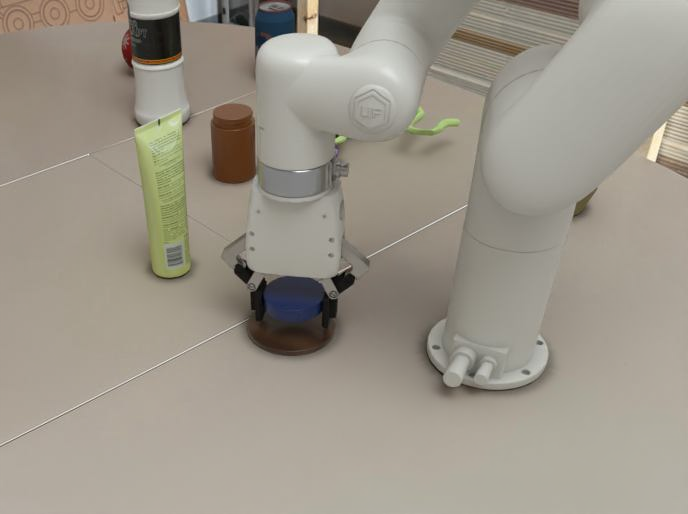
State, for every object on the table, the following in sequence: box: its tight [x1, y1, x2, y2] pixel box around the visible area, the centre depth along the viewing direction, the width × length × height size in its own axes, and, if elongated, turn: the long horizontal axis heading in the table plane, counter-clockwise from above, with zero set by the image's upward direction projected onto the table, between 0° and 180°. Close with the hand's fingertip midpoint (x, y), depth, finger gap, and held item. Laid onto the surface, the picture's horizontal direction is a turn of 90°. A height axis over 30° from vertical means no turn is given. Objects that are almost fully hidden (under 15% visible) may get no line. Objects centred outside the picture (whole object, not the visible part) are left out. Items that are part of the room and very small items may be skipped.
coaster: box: [247, 310, 336, 356], centre depth 94 cm, size 10×10×1 cm
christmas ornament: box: [121, 28, 133, 70], centre depth 150 cm, size 9×9×10 cm
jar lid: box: [263, 275, 325, 322], centre depth 92 cm, size 7×7×2 cm
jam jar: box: [209, 102, 257, 184], centre depth 120 cm, size 6×6×9 cm
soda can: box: [254, 0, 296, 72], centre depth 145 cm, size 7×7×12 cm
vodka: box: [125, 0, 191, 126], centre depth 128 cm, size 9×9×30 cm
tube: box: [133, 108, 192, 279], centre depth 98 cm, size 6×5×20 cm
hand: (293, 316), depth 93 cm, fingers closed on jar lid, 6 cm apart
